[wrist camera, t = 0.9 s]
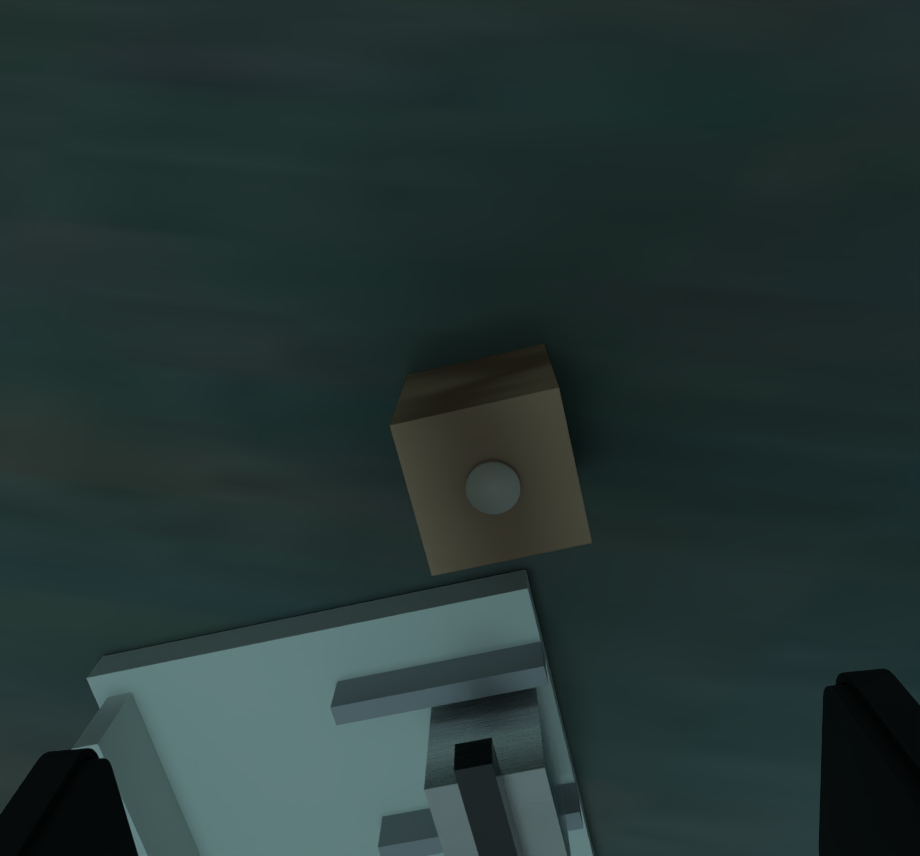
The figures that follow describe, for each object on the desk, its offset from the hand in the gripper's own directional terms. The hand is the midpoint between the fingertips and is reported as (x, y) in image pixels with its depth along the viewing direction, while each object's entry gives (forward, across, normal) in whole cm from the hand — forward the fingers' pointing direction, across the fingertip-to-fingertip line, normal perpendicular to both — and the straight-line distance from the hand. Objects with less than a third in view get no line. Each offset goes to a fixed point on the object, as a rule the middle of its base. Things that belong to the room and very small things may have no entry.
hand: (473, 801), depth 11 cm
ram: (+18, 0, +14) cm, 23 cm away
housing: (+20, -1, +2) cm, 20 cm away
